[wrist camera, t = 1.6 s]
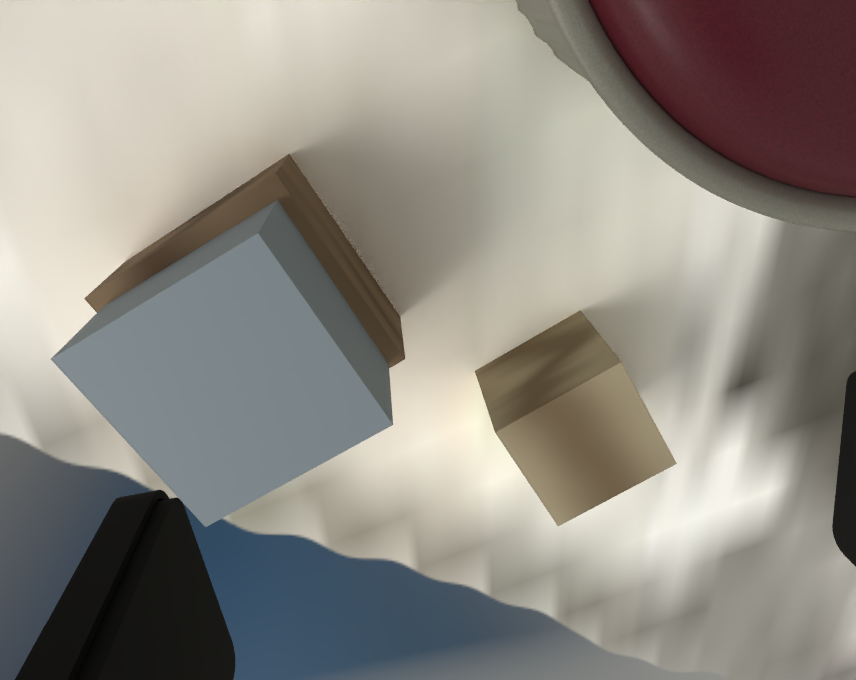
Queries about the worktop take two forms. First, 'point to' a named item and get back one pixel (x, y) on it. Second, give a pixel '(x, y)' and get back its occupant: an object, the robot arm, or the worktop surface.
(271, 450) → the tower top
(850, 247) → the worktop surface
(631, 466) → the oak cube
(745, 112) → the canister
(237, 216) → the tower base
